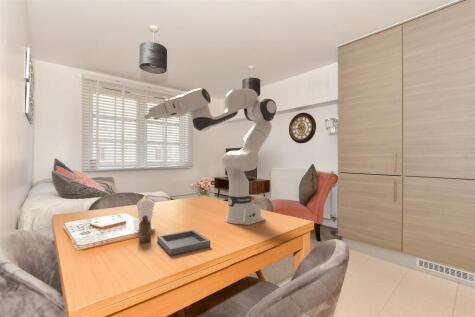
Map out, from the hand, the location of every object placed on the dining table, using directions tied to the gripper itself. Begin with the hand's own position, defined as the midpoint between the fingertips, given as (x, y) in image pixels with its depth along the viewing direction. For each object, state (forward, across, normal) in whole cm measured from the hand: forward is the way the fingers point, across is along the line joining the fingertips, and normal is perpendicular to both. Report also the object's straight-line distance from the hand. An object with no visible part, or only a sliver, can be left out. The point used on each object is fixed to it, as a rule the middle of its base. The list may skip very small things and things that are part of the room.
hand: (149, 117), depth 113 cm
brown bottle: (+13, +21, +50) cm, 55 cm away
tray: (-3, +22, +55) cm, 60 cm away
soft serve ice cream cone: (+22, +3, +49) cm, 54 cm away
